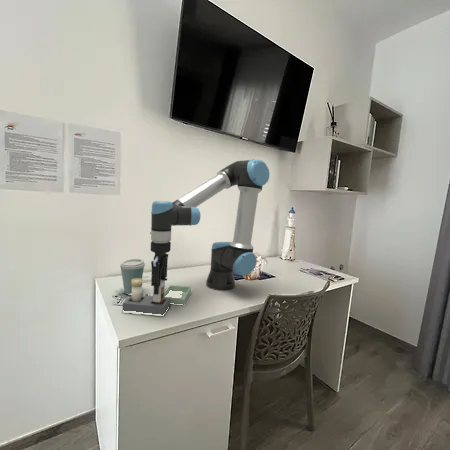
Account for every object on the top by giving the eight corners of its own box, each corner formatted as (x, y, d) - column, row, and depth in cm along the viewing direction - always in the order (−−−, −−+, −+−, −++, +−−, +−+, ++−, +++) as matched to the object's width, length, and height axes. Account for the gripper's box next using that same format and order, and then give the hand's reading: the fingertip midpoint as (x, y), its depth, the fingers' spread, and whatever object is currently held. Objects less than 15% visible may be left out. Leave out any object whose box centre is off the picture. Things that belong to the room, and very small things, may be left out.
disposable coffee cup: (129, 299, 113) (130, 265, 111) (114, 293, 119) (114, 260, 117) (148, 292, 122) (150, 261, 120) (133, 286, 128) (134, 256, 126)
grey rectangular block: (169, 307, 109) (170, 297, 108) (163, 317, 100) (163, 307, 99) (132, 303, 110) (132, 294, 109) (122, 312, 101) (122, 303, 100)
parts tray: (190, 293, 125) (191, 287, 124) (183, 306, 110) (184, 299, 110) (169, 290, 126) (169, 284, 125) (159, 303, 111) (159, 296, 111)
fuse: (143, 307, 107) (144, 278, 106) (139, 311, 103) (140, 282, 101) (133, 306, 107) (134, 277, 106) (128, 310, 103) (129, 281, 102)
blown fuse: (165, 308, 106) (166, 279, 105) (161, 312, 102) (163, 283, 101) (155, 307, 107) (156, 278, 105) (151, 311, 103) (152, 282, 101)
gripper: (158, 236, 110) (156, 290, 113) (142, 244, 93) (141, 307, 96) (176, 238, 109) (174, 291, 112) (163, 246, 92) (161, 309, 95)
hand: (158, 298), depth 104 cm, fingers closed on blown fuse, 4 cm apart
